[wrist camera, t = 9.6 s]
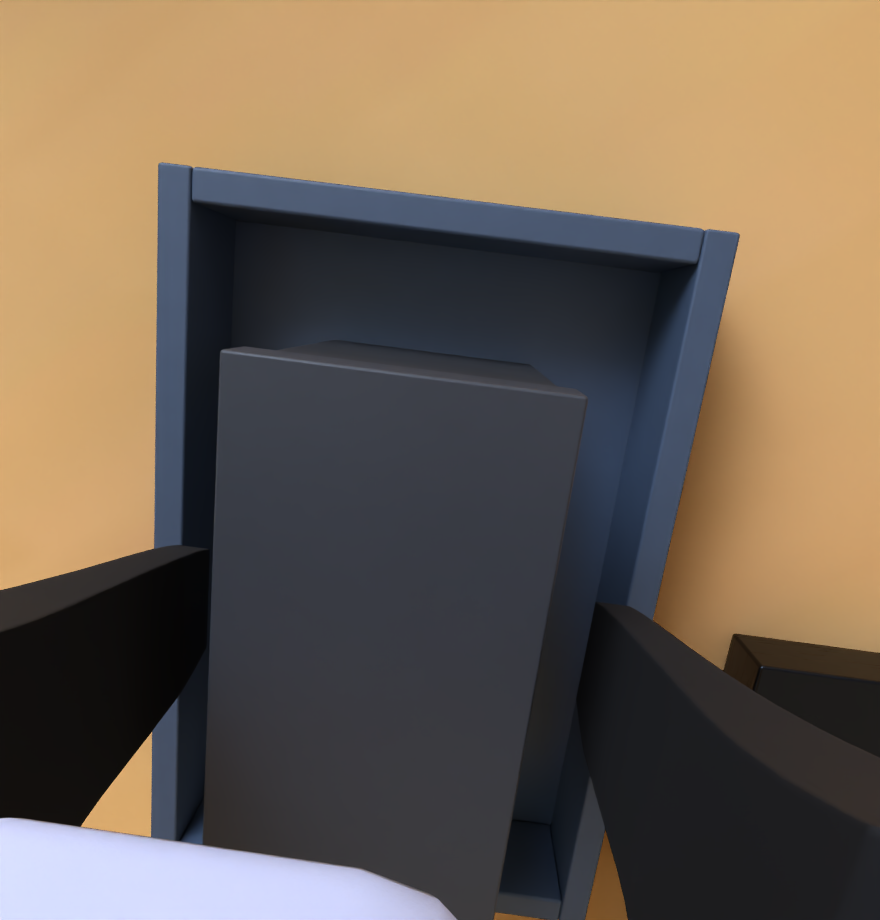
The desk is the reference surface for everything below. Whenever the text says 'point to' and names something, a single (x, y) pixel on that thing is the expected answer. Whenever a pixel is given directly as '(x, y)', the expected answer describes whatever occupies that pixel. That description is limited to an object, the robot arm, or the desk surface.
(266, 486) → the dark grey block
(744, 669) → the panel
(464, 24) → the desk surface
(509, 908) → the open rectangular tray
